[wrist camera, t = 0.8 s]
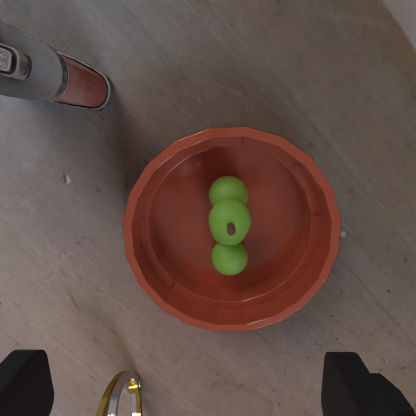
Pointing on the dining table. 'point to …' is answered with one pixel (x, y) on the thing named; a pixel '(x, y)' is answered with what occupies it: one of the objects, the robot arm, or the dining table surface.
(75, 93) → the lighter
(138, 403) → the ring
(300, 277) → the bowl
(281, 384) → the dining table surface
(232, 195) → the grapes
